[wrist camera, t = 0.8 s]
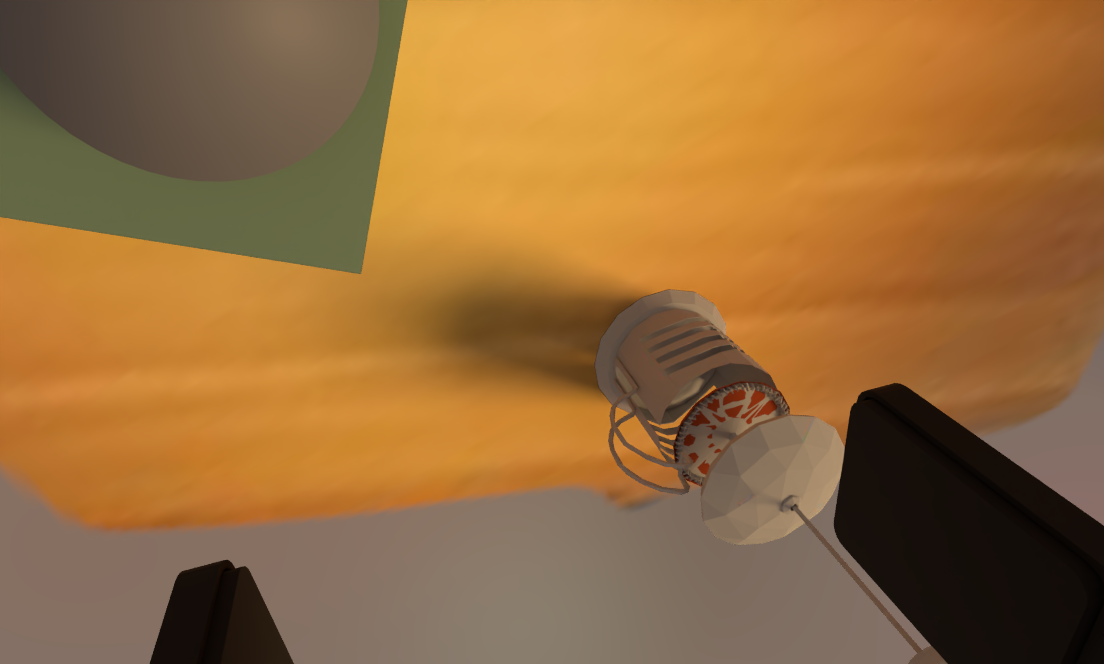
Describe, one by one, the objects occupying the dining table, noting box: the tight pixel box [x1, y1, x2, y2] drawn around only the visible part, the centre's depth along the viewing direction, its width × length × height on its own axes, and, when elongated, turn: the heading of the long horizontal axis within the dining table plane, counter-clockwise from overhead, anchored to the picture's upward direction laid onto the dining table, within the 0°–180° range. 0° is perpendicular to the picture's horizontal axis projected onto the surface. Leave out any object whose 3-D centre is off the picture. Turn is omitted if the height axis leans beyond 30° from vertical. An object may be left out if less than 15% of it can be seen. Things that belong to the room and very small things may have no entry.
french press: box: [595, 290, 947, 664], centre depth 33 cm, size 10×12×25 cm
